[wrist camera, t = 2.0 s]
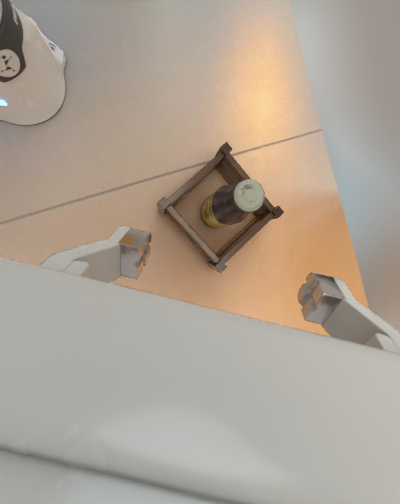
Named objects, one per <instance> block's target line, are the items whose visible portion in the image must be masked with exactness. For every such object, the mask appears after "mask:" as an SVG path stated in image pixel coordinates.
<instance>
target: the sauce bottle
mask: <svg viewBox="0 0 400 504" xmlns="http://www.w3.org/2000/svg"><path fill="white" fill-rule="evenodd" d="M264 198H265V193H264V190H263V188H262V186H261V184H259V183H258V182H257V181H255V180H252V179H246V180H243V181H240V182H238V183H237V184H236V185H225V186H222V187H220V188H219V189H217V190H216V191H215V192H214V193H213V194H212V195H210V197H208V198H207V199H206V200H205V201H204V203H203V205H202V208H201V216H202V218H203V220H204V221H205V222H206V223H207V224H208V225H209V226H212V227H222V226H227V225H232V224H235V223H238V222H241V221H243V220H244V219H245V218H246V217H247V216H248V215H249V213H251V212H254V211H256V210H258V209H259V208H260V207H261V206H262V204H263V201H264Z"/></svg>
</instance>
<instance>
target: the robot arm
mask: <svg viewBox="0 0 400 504" xmlns="http://www.w3.org/2000/svg"><path fill="white" fill-rule="evenodd" d="M53 50H54V51H53ZM65 64H66V55H65V54H64V52H63V51H62V49H61V48H59V47H58V46H57V45H56V44H55V43H53V42H52V41H51V40H50V39H48V38H47V37H46V36H45V35H44V34H42V33H41V31H40V30H39V28H38V26H37V25H36V23H35V22H34V21H33V19H32V18H30V17H27V16H26V15H25V14H24V13H23V12H21V11H20V10H19V9H17V8H16V7H14V6H13V4H12V2H11V0H0V120H3V121H7V122H10V123H13V124H18V125H34V124H38V123H41V122H44V121H46V120H48V119H49V118H51V117H52V116H53V115H55V114H56V112H57V111H58V110H59V109H60V107H61V105H62V103H63V101H64V98H65V91H66V87H65V79H64V68H65ZM150 242H151V233H149V232H145V231H141V230H137V229H134V228H130V227H126V226H119V228H118V229H117V230H116V231H115V232H114V233H113V234H112V235H111V236H110V237H109V238H108V239H107V240H106V241H105V240H101V241H98V242H94V243H90V244H87V245H83V246H79V247H76V248H72V249H68V250H65V251H61V252H57V253H54V254H52V255H51V256H50V257H49V258H47V259H46V260H45V261H44V262H43V263H41V264H40V265H39V266H37V265H33V264H29V263H25V262H21V261H16V260H12V259H8V258H4V257H0V504H400V333H399V332H398V331H397V330H395V329H394V328H393V327H392V326H390V325H389V324H388V323H386V322H385V321H384V320H382V319H381V318H380V317H378V316H377V315H376V314H374V313H373V312H372V311H370V310H369V309H368V308H366V307H365V306H364V305H362V304H361V303H359V302H357V301H356V300H355V298H354V296H353V295H352V293H351V292H350V290H349V288H348V287H347V285H346V284H345V282H344V281H343V280H342V279H339V278H334V277H329V276H324V275H320V274H315V273H310V274H309V275H308V276H307V278H306V281H307V283H305V284H303V285H302V286H301V287H300V289H299V292H298V301H299V303H300V304H301V305H302V306H303V308H302V309H301V310H302V313H303V316H304V319H305V320H306V321H310V322H313V323H317V324H321V325H322V327H323V328H324V329H325V330H326V331H327V333H328V334H329V335H330V336H331V337H329V336H325V335H321V334H317V333H313V332H309V331H304V330H300V329H296V328H292V327H288V326H284V325H280V324H276V323H272V322H267V321H263V320H259V319H255V318H251V317H247V316H243V315H239V314H234V313H230V312H226V311H222V310H218V309H214V308H210V307H206V306H202V305H197V304H193V303H189V302H185V301H181V300H177V299H173V298H169V297H165V296H160V295H156V294H152V293H148V292H144V291H140V290H136V289H132V288H128V287H123V286H119V285H115V284H111V283H110V282H111V281H113V280H115V279H117V278H118V277H120V276H124V277H128V278H133V279H138V278H139V276H140V274H141V272H142V268H143V266H145V265H146V263H147V261H148V258H149V254H150V247H149V243H150Z"/></svg>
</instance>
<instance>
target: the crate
mask: <svg viewBox="0 0 400 504" xmlns="http://www.w3.org/2000/svg"><path fill="white" fill-rule="evenodd" d="M231 150H232V148H231V147H230V145H229V144H228V143H227V142H226V143H225V144H224V145H222V146H221V147H220V149H219V150H218V152H217V154H216V156H215V157H214V159H213V160H212V161H210V162H209V163H208V164H207V165H206V166H205V167H204V168H202V169H201V170H200V171H199V172H198V173H197V174H196V175H195V176H193V177H192V178H191V179H190V180H189V181H188V182H187V183H185V184H184V185H183V186H182V187H181V188H180V189H179V190H178V191H176V192H175V193H174V194H173V195H172V196H171V197H170V198H168V199H166V198H165V197H163V198H162V199H161V200H160V201H159V202H158V203H157V204H158V210H159V211H160V212H161V214H162V215H163V216H164V215H165V214H166V215H167V216H168V217H169V218H170V219H171V220H172V221H173V222H174V223H175V225H176V226H177V227H178V228H179V229H180V230H181V231H182V232H183V233H184V234H185V236H186V237H187V238H188V239H189V240H190V241H191V242H192V243H193V244H194V246H195V247H196V248H197V249H198V250H199V251H200V252H201V253H202V254H203V255H204V257H205V258H206V259H207V260H208V262H207V264H208V265H209V266H210V267H211V269H213V270H216V271H218V272H220V273H221V272H222V271H223V270H224V269H225V268H226V267H227V266H226V265H225V263H226V262H227V261H228V260H229V259H230V258H231V257H232V256H233V255H234V254H235V253H236V252H237V251H238V250H239V249H240V248H241V247H242V246H243V245H244V244H246V243H247V242H248V241H249V240H250V239H251V238H252V237H253V236H254V235H255V234H256V233H257V232H258V231H259V230H260V229H261V228H262V227H263V226H264V225H265V224H267V223H268V222H269V221H270V220H271V219H276V218H279V217H280V216H281V215H282V214H283V213H284V212H283V210H282V209H281V208H280V207H279V206H277V207H273V206H272V204H271V203H270V202H269V201H268V199H267V198H266V197H265V198H264V201H263V204H262V206H261V207H260V208H259V209H258V210H256V211H254V212H253V213H254V214H255V216H256V217H255V218H254V219H253V220H252V221H251V222H250V223H249V224H248V225H247V226H246V227H245V228H244V229H242V230H241V231H240V232H239V233H238V234H237V235H236V236H235V237H234V238H233V239H232V240H231V241H230V242H229V243H228V244H227V245H225V246H224V247H223V248H222V249H221V250H220V251H219V252H218V253H217V254H216V255H215V254H214V252H213V251H212V250H211V249H210V248H209V247H208V246H207V245H206V244H205V242H204V241H203V240H202V239H201V238H200V237H199V236H198V235H197V233H196V232H195V231H194V230H193V229H192V228H191V227H190V226H189V225H188V223H187V222H186V221H185V220H184V219H183V218H182V217H181V216H180V215H179V213H178V212H177V211H176V210H175V209H174V208H173V207H174V206H175V205H176V204H177V203H178V202H179V201H181V200H182V199H183V198H184V197H185V196H186V195H187V194H188V193H190V192H191V191H192V190H193V189H194V188H195V187H196V186H197V185H199V184H200V183H201V182H202V181H203V180H204V179H205V178H206V177H208V176H209V175H210V174H211V173H212V172H213V171H214V170H215V169H217V170H218V171H219V173H220V174H221V175H222V176H223V177H224V179H225V180H226V181H227V182H228V183H229V185H236V184H237V183H238V182H240V181H243V180H246V179H250V177H249V176H248V175H247V174H246V173H245V171H244V170H243V169H242V168H241V166H240V165H239V164H238V163H237V162H236V160H235V159H234V158H233V157H232V156H231V154H230V152H231Z"/></svg>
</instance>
